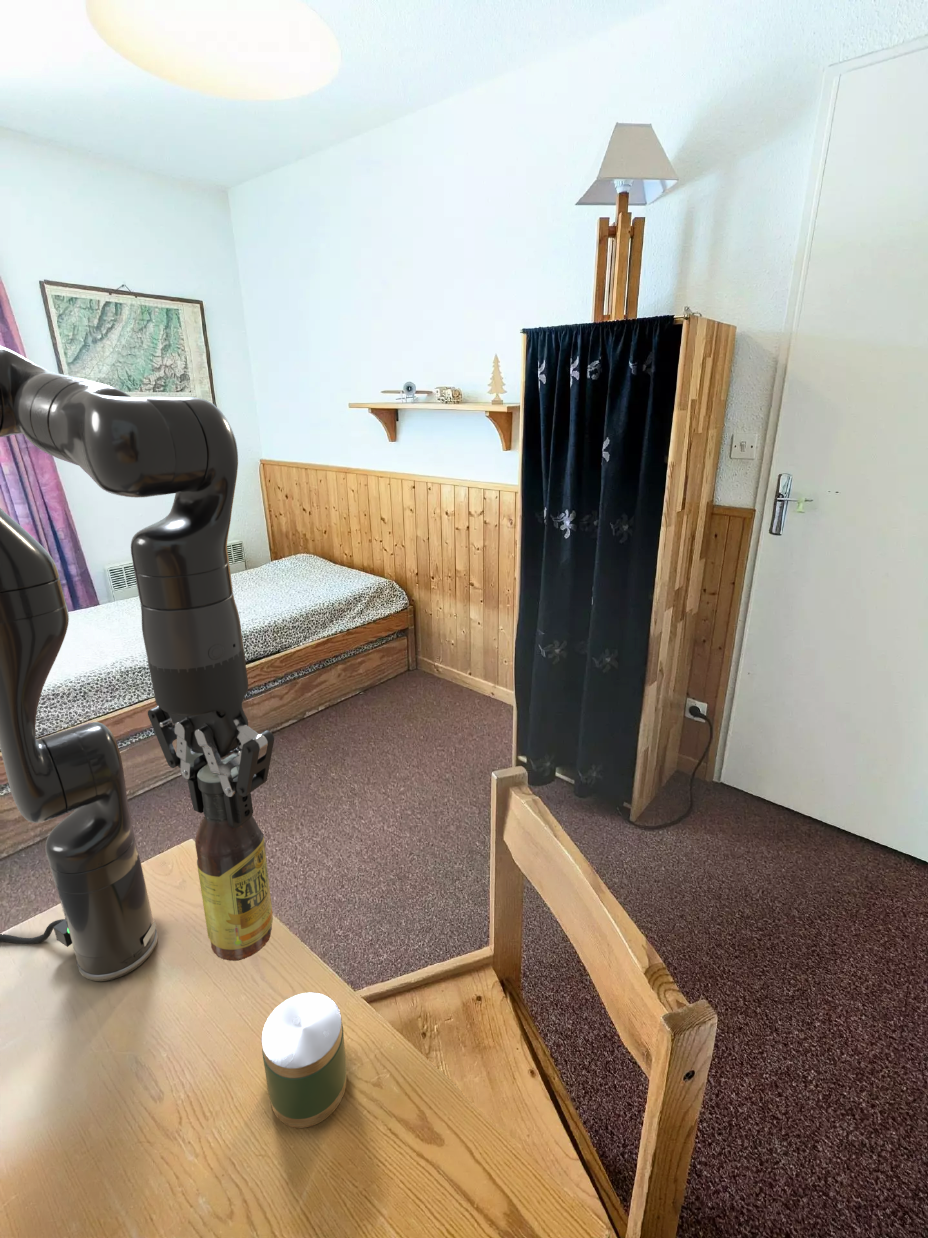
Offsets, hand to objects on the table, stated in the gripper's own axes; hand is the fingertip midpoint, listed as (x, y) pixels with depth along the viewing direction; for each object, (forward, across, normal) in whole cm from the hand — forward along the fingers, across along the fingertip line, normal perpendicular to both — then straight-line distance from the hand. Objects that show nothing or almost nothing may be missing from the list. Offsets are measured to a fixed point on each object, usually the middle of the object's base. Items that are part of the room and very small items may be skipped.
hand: (222, 814), depth 57 cm
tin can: (+33, -7, 0) cm, 34 cm away
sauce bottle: (+15, 0, 0) cm, 15 cm away
